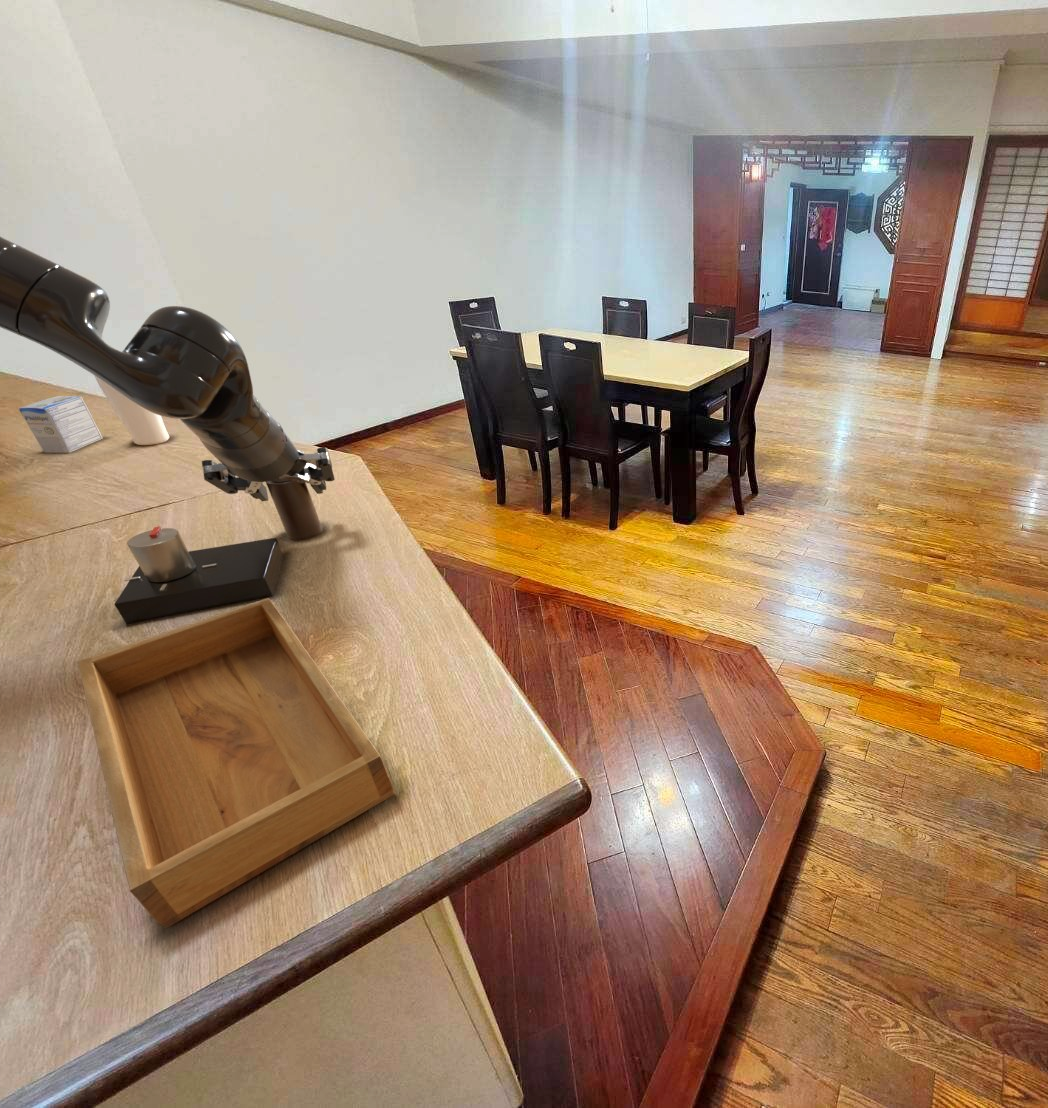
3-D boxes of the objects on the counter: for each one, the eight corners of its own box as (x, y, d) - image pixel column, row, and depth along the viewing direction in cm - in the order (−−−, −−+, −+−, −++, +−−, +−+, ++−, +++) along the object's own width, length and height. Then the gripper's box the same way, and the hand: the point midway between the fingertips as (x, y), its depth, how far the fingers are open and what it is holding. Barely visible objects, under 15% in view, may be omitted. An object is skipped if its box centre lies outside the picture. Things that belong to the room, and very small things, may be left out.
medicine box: (79, 439, 116) (55, 395, 112) (104, 439, 117) (81, 395, 112) (43, 453, 109) (16, 407, 105) (70, 453, 110) (44, 408, 105)
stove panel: (122, 626, 68) (108, 603, 66) (150, 578, 76) (138, 557, 75) (272, 596, 74) (263, 575, 72) (284, 555, 82) (275, 536, 81)
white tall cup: (168, 433, 120) (133, 358, 113) (180, 441, 117) (144, 364, 110) (125, 442, 116) (85, 364, 108) (136, 450, 112) (95, 370, 105)
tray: (397, 796, 50) (379, 751, 47) (166, 934, 40) (125, 887, 37) (287, 636, 68) (269, 596, 65) (107, 705, 58) (76, 661, 55)
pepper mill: (286, 542, 85) (260, 479, 80) (289, 529, 89) (265, 467, 84) (321, 537, 87) (298, 474, 82) (324, 524, 90) (301, 463, 85)
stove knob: (190, 577, 72) (171, 539, 69) (141, 586, 70) (119, 547, 67) (199, 559, 75) (181, 523, 72) (153, 567, 73) (132, 530, 71)
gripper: (175, 477, 68) (235, 524, 83) (322, 459, 74) (354, 506, 89) (167, 418, 69) (228, 475, 84) (312, 406, 75) (345, 461, 90)
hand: (292, 491), depth 86 cm, fingers open, 6 cm apart
